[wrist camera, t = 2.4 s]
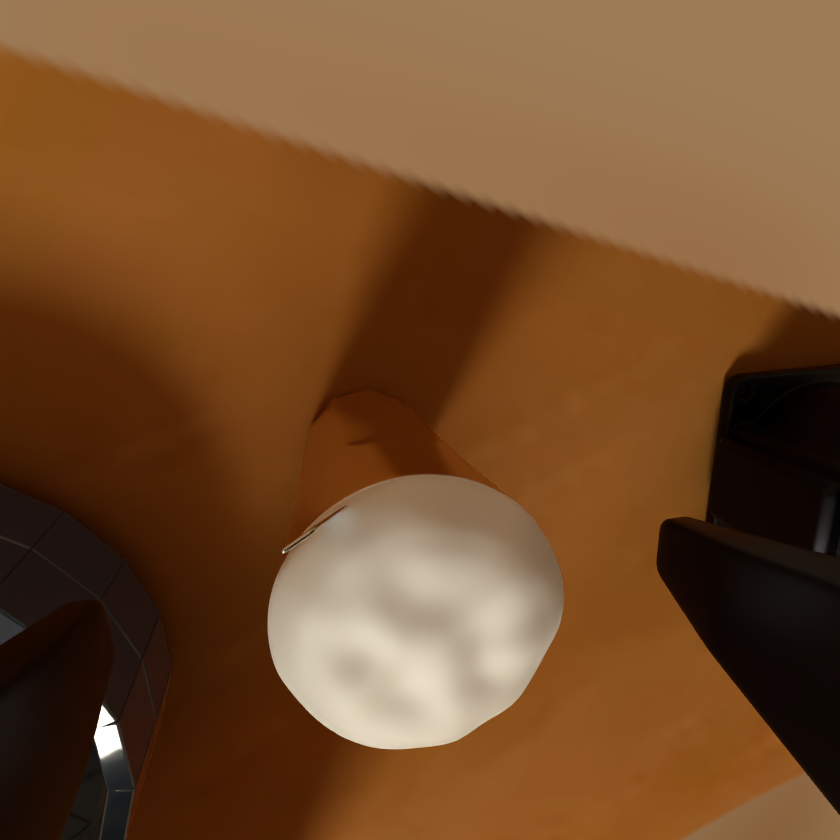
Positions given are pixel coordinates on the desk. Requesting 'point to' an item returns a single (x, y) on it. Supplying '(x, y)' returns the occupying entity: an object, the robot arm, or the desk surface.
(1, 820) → the robot arm
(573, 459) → the desk surface
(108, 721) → the bowl
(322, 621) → the milkshake
